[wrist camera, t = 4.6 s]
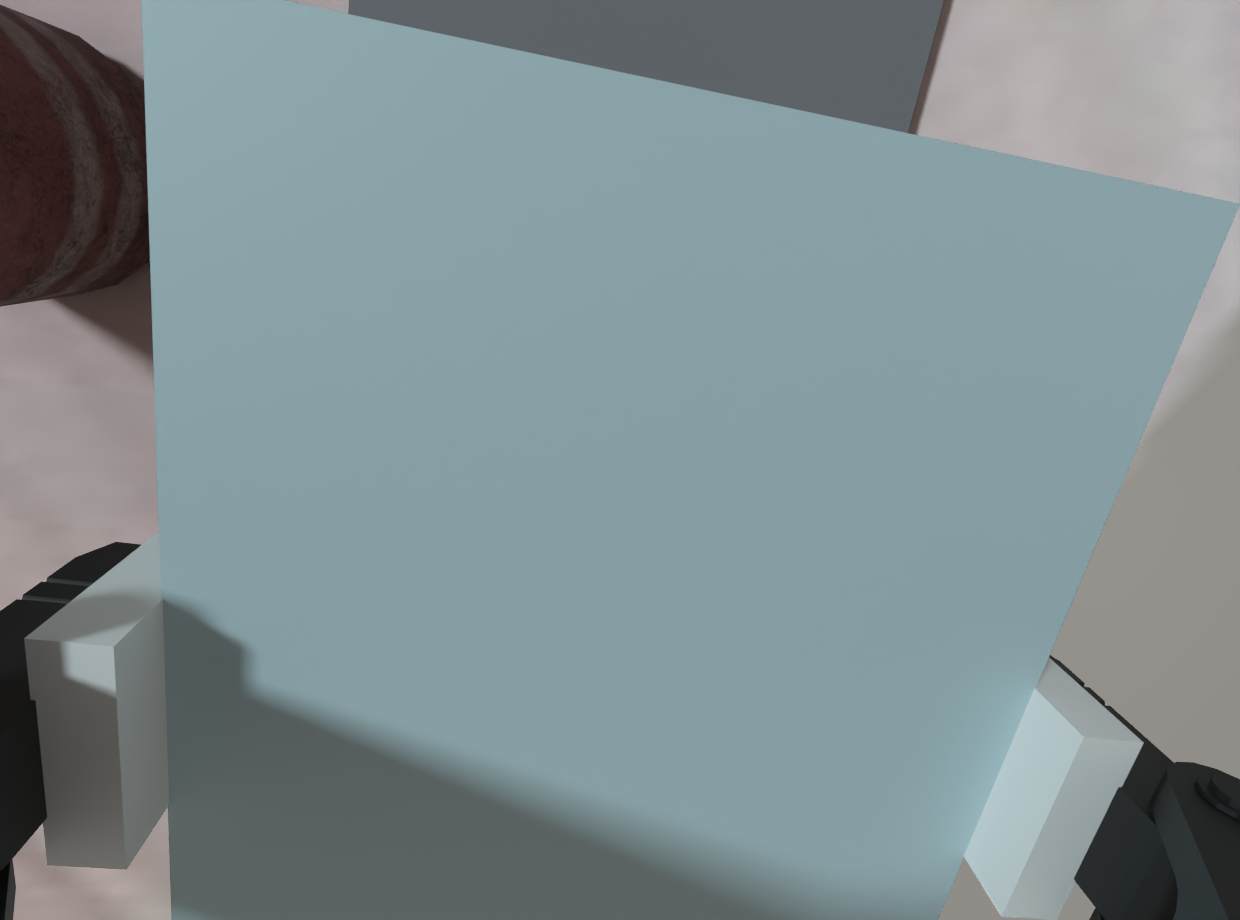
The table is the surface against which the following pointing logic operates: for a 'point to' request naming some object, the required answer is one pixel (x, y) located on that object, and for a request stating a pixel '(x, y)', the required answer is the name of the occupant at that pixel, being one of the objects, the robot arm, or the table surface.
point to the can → (67, 165)
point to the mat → (715, 44)
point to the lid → (610, 475)
